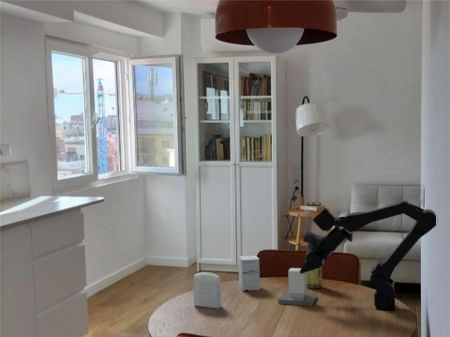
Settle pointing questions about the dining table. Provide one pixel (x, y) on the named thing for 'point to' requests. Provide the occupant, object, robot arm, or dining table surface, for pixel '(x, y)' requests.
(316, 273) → the sauce bottle
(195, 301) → the white arched block
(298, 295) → the white rectangular block
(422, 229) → the robot arm
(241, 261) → the supplement box
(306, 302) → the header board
